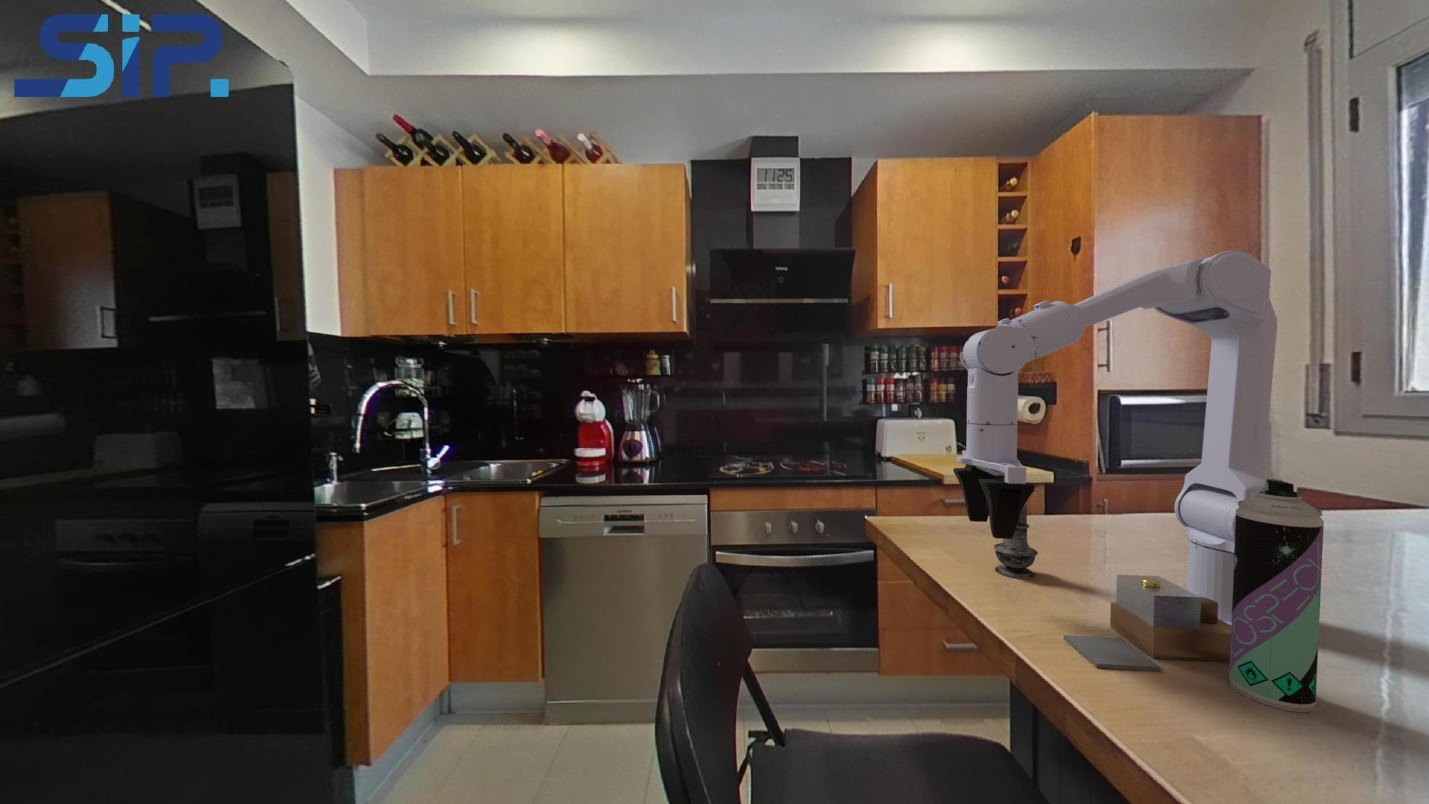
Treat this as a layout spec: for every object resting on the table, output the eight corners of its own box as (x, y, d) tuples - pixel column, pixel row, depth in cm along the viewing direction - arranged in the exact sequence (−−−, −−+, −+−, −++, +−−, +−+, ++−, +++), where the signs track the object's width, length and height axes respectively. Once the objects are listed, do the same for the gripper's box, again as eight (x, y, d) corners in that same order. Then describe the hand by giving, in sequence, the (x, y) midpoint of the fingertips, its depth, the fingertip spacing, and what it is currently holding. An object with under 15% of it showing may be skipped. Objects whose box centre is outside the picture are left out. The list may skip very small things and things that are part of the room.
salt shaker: (1044, 581, 76) (1046, 499, 75) (1000, 578, 77) (1001, 497, 77) (1028, 567, 82) (1030, 491, 81) (987, 564, 83) (989, 489, 82)
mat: (1120, 641, 58) (1120, 637, 58) (1160, 670, 52) (1160, 667, 52) (1063, 638, 59) (1063, 635, 59) (1096, 667, 53) (1096, 663, 53)
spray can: (1213, 678, 51) (1220, 475, 50) (1263, 675, 51) (1271, 474, 51) (1278, 714, 46) (1287, 487, 45) (1334, 710, 46) (1344, 485, 45)
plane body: (1193, 630, 61) (1194, 588, 60) (1247, 663, 54) (1249, 615, 54) (1110, 627, 62) (1111, 585, 61) (1153, 658, 55) (1154, 611, 55)
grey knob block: (1157, 605, 61) (1158, 571, 60) (1199, 630, 55) (1201, 592, 54) (1115, 604, 61) (1116, 570, 61) (1153, 628, 55) (1154, 590, 55)
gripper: (940, 419, 74) (939, 513, 75) (981, 428, 60) (979, 545, 60) (992, 419, 73) (991, 515, 74) (1046, 428, 59) (1044, 547, 59)
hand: (989, 529), depth 67 cm, fingers open, 7 cm apart
